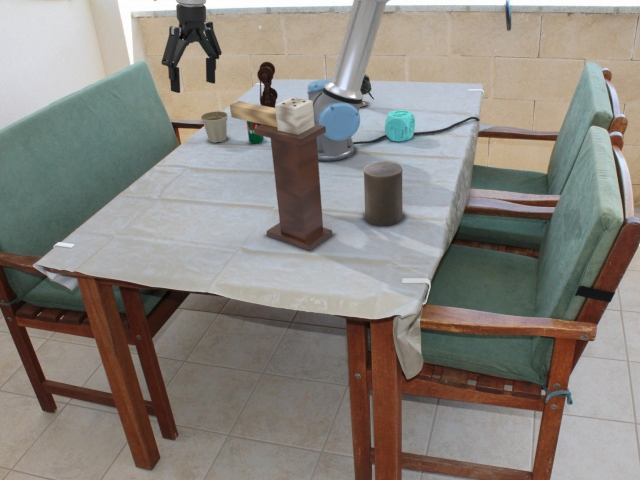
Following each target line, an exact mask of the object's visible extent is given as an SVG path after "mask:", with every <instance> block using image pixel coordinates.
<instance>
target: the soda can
mask: <svg viewBox="0 0 640 480" xmlns="http://www.w3.org/2000/svg"><path fill="white" fill-rule="evenodd" d="M245 121H246V120H245ZM245 123H246V128H247V129H246V130H247V136H248V142H249V143H250V144H253V145H259V144H262V143H263V142H264V140H265V137H264V136H259V135H255V134H254V128H256V127H258V126H260V125H262V124H259V123H255V122H250V121H246V122H245Z"/></svg>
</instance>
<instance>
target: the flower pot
mask: <svg viewBox="0 0 640 480" xmlns="http://www.w3.org/2000/svg"><path fill="white" fill-rule="evenodd" d="M228 117H229V113H228V112H226V111H223V110H222V111H221V110H215V111H208V112H205V113H203V114H202V115H200V117H199V119H200V120H201V122H202V124H203V126H204V130H205V133H206V136H207V139H208V142H210V143H213V144H217V143H223V142H225V141H226V140H227V139H228V135H227V134H228V132H227V131H228V130H227V129H228V125H227V124H228V123H227V121H228Z"/></svg>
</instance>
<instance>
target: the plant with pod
mask: <svg viewBox="0 0 640 480" xmlns="http://www.w3.org/2000/svg"><path fill="white" fill-rule="evenodd" d="M369 76H370V75H368V74H367V73H365V75H364V78H363V81H362V85H361V88H360V91H361V93H362V95H363V96H364V95H369V97H370V98H371V99H372V100H375V97H374V96H373V95H372V94H371V91H372V84H371V79H370V77H369ZM367 106H368V104H367V101H365V100H362V103H361V106H360V108H362V107H367Z"/></svg>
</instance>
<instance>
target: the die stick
mask: <svg viewBox="0 0 640 480" xmlns="http://www.w3.org/2000/svg"><path fill="white" fill-rule="evenodd" d="M229 109H230V117H231V118H232V119H237V120H242V121H250V122H255V123H259V124H264V125H268V126H273V127H277V129H278V131H282V132H287V133H291V134H296V135H299V134H301V133H303V132H305V131H307V130H309V129H311V128H313V127H314V113H313V101H311V100H309V99H305V98H298V97H292V96H291V97H289V98H287V99H285V100H282V101H280V102H278V103H276V104H275V108H272V107H267V106H262V105H261V104H257V103H251V102H247V101H243V100H242V101H241V100H237V101H235V102H233V103H231V104H229Z"/></svg>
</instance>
